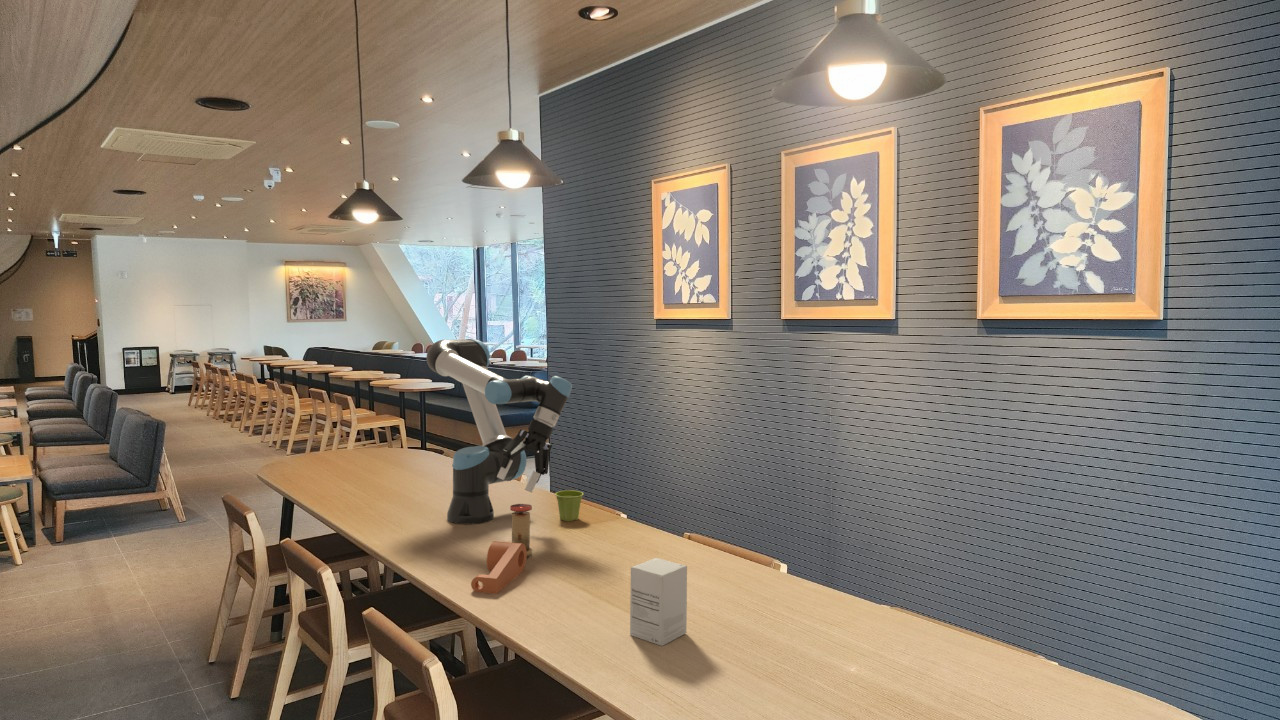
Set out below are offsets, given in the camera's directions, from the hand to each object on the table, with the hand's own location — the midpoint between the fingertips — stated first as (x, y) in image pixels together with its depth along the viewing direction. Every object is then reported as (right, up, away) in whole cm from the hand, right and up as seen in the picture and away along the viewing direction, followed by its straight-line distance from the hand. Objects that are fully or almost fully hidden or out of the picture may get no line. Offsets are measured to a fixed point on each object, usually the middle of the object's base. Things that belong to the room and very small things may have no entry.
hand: (514, 485), depth 244 cm
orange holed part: (+3, -18, -43) cm, 47 cm away
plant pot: (+16, -14, +17) cm, 27 cm away
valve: (+6, -16, -23) cm, 29 cm away
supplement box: (+43, -20, -77) cm, 90 cm away
